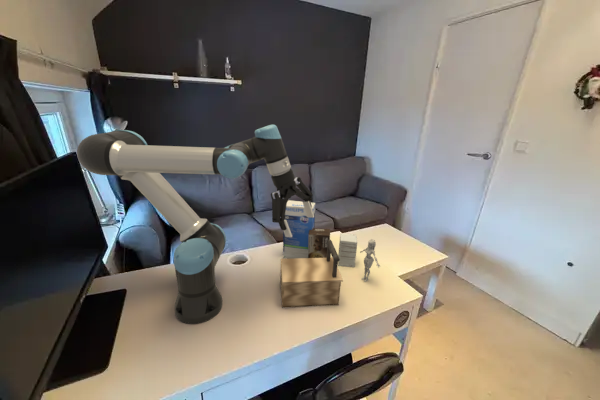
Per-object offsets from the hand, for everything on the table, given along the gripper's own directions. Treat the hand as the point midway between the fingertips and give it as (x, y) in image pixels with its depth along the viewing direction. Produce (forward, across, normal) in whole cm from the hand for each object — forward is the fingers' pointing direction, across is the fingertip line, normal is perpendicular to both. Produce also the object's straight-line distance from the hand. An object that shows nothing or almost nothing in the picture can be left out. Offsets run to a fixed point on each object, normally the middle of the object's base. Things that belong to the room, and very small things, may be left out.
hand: (300, 226), depth 99 cm
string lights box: (+24, +10, +19) cm, 32 cm away
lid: (+15, -5, -2) cm, 16 cm away
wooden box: (+25, -8, 0) cm, 26 cm away
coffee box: (+27, +11, +9) cm, 30 cm away
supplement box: (+31, +20, +1) cm, 37 cm away
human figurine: (+33, +14, -11) cm, 38 cm away
